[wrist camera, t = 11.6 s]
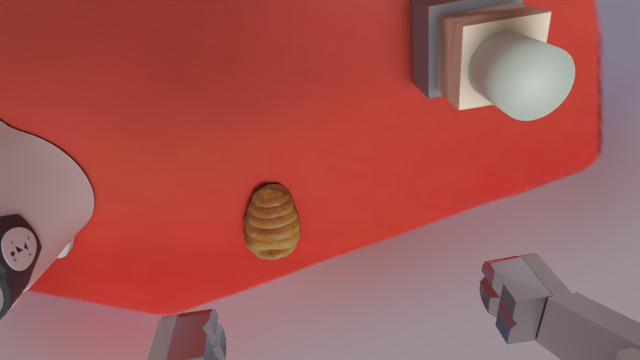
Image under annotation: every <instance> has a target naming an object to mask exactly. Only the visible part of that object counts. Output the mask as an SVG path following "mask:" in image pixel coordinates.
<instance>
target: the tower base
mask: <svg viewBox="0 0 640 360" xmlns="http://www.w3.org/2000/svg"><path fill="white" fill-rule="evenodd" d="M511 3H519V4H523V0H412V40H413V83H414V84H415V85H416V86H417V87H418V88H419V89H420V90H421V91H422V92H423V93H424V94H425V95H426V96H427V97H428V98H435V97H440V96H443V95H442V94H441V93H440V92H439V91H438V90H437V86H438V38H439V16H440V15H446V14H452V13H457V12H463V11H469V10H475V9H481V8H487V7H493V6H499V5H505V4H511Z"/></svg>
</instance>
